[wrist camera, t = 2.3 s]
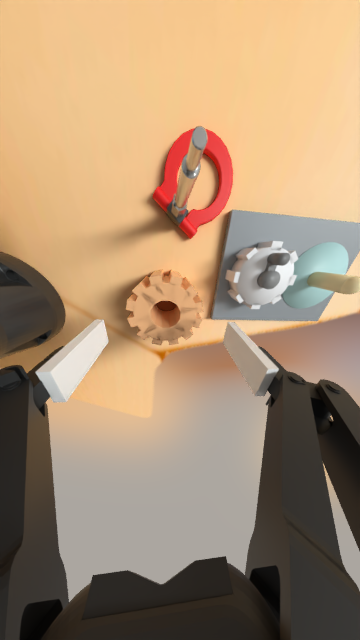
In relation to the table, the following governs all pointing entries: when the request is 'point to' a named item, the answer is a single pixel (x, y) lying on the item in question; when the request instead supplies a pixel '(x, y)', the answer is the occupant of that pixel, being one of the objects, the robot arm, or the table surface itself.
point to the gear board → (270, 278)
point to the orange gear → (164, 322)
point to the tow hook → (193, 178)
